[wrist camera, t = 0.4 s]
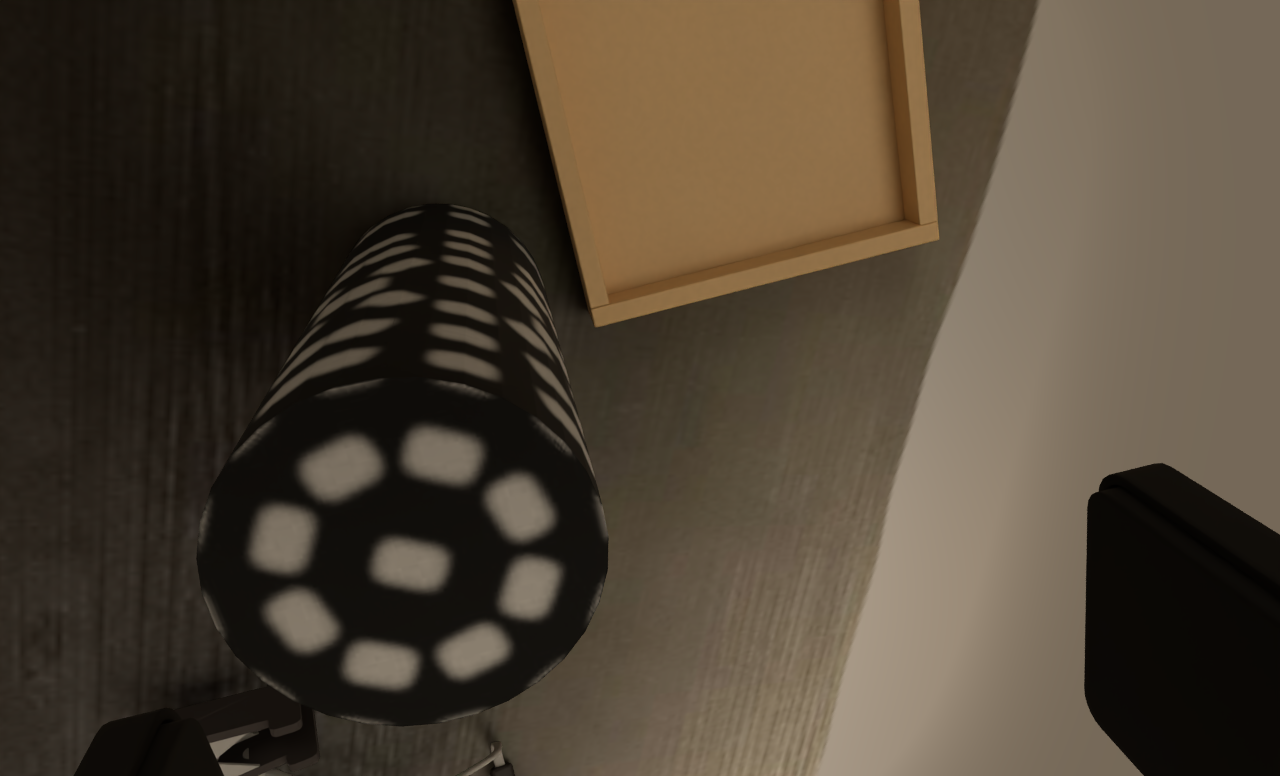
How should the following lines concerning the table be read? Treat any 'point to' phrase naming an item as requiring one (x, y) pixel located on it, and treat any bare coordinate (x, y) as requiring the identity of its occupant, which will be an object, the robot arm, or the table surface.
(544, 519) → the spotted tube
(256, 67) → the table surface
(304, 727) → the clip-on lamp
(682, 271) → the tray
